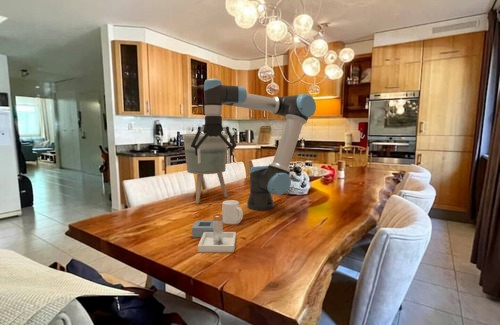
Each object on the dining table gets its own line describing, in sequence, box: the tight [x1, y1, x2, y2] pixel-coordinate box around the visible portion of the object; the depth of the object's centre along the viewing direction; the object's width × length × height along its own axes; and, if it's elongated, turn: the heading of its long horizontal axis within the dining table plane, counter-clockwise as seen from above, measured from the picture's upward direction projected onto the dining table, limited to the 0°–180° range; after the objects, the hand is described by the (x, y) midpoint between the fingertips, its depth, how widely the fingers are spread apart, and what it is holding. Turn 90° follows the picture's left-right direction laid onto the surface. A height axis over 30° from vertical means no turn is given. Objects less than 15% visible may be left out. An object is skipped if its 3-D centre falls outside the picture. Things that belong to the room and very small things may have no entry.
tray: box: [197, 231, 237, 253], centre depth 106 cm, size 13×13×2 cm
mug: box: [221, 199, 244, 225], centre depth 131 cm, size 12×9×8 cm
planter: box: [183, 133, 229, 204], centre depth 170 cm, size 26×26×40 cm
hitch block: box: [191, 219, 213, 238], centre depth 117 cm, size 9×9×4 cm
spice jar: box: [212, 213, 224, 245], centre depth 105 cm, size 4×4×11 cm
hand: (214, 163), depth 125 cm, fingers open, 13 cm apart
